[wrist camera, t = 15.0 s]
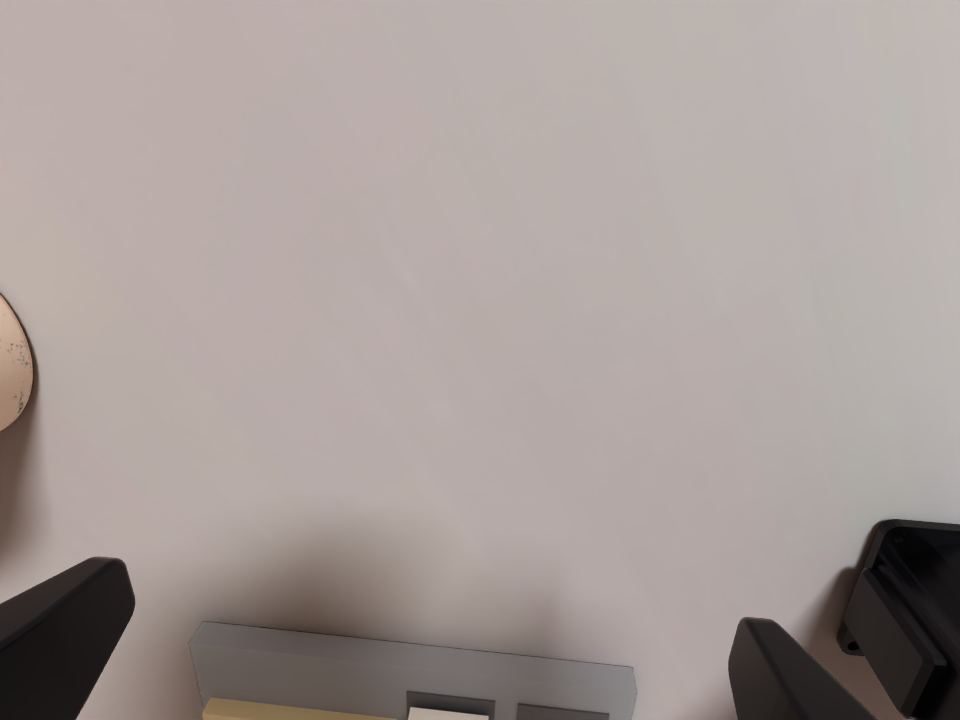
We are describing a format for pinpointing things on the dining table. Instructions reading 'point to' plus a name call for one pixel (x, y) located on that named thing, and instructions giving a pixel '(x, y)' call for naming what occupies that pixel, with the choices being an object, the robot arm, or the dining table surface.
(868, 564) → the robot arm
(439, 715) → the toggle plain
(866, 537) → the dining table surface
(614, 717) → the breaker panel
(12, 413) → the teacup with lid
